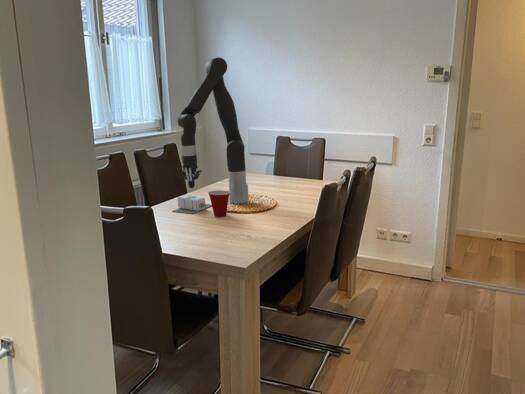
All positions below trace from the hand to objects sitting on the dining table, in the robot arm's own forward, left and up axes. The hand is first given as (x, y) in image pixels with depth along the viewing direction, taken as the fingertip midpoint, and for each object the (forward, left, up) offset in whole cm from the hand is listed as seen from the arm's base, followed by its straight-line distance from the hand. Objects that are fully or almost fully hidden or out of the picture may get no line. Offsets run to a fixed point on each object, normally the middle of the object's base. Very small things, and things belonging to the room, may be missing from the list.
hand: (191, 187), depth 246 cm
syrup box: (+8, 0, -8) cm, 11 cm away
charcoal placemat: (0, 0, -11) cm, 11 cm away
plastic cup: (-21, +6, -11) cm, 25 cm away
